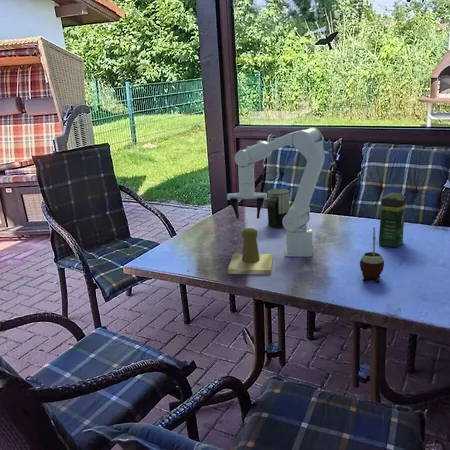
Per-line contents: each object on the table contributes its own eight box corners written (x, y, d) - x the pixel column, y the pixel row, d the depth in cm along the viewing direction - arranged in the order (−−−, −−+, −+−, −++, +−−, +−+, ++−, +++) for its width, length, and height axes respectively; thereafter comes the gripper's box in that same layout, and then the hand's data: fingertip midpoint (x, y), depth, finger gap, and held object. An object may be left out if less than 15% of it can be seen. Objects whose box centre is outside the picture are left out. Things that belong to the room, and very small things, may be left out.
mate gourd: (369, 285, 147) (371, 238, 142) (352, 276, 154) (354, 231, 149) (389, 280, 149) (392, 234, 145) (372, 271, 156) (374, 227, 152)
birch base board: (273, 258, 171) (273, 254, 171) (270, 274, 158) (270, 270, 158) (233, 257, 174) (233, 253, 173) (227, 273, 160) (227, 269, 160)
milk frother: (268, 221, 211) (267, 188, 206) (305, 221, 208) (305, 187, 203) (266, 232, 197) (265, 197, 193) (305, 233, 195) (305, 196, 190)
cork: (259, 262, 164) (258, 231, 160) (241, 263, 164) (240, 232, 161) (259, 256, 170) (258, 226, 166) (242, 256, 170) (241, 226, 167)
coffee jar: (398, 249, 173) (402, 198, 167) (376, 246, 177) (378, 196, 171) (405, 240, 181) (408, 192, 175) (383, 238, 185) (385, 190, 179)
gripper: (267, 179, 181) (268, 214, 185) (228, 180, 183) (230, 214, 187) (266, 183, 174) (266, 220, 178) (225, 184, 176) (227, 220, 181)
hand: (247, 217), depth 182 cm, fingers open, 7 cm apart
